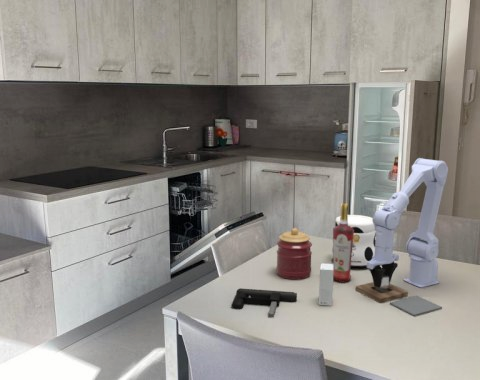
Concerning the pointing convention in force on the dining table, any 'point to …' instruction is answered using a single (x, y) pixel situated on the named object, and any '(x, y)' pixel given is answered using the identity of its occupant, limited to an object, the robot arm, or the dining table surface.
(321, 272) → the skincare box
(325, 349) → the dining table surface
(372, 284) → the bore plate
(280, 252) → the canister
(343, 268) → the liquor
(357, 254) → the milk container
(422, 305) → the rubber mat
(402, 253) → the dining table surface
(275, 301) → the door handle
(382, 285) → the end cover
